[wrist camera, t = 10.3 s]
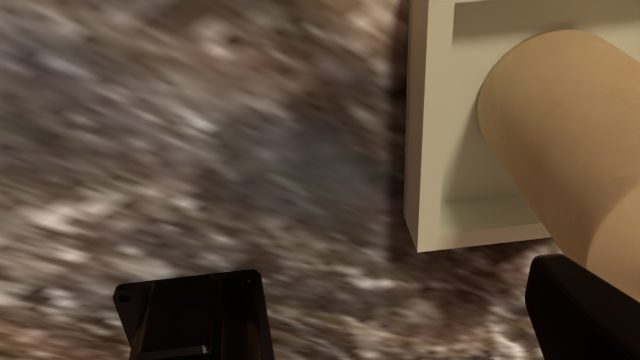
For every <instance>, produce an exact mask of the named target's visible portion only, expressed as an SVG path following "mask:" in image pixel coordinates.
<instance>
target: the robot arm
mask: <svg viewBox="0 0 640 360" xmlns="http://www.w3.org/2000/svg"><path fill="white" fill-rule="evenodd" d="M247 280H253V282H247ZM123 294H125V295H128V296H124V295H123ZM113 301H114V304H115V306H116V309H117V312H118V314H119V317H120V320H121V322H122V325H123V328H124V331H125V333H126V336H127V339H128V341H129V344H130V347H131V352H130V356H129V360H274V351H273V345H272V339H271V333H270V327H269V320H268V314H267V308H266V302H265V296H264V289H263V283H262V277H261V274H260V273H259V272H258V271H256V270H241V271H232V272H223V273H214V274H206V275H197V276H188V277H179V278H171V279H162V280H153V281H144V282H136V283H127V284H121V285H119V286H117V287H116V289H115V291H114V295H113ZM525 304H526V308H527V311H528V314H529V317H530V320H531V323H532V326H533V328H534V331H535V334H536V337H537V340H538V343H539V345H540V348H541V351H542V354H543V357H544V360H640V302H639V301H637V300H635V299H634V298H632V297H631V296H629V295H627V294H626V293H624V292H623V291H621V290H619V289H618V288H616V287H615V286H613V285H611V284H610V283H608V282H607V281H605V280H603V279H602V278H600V277H599V276H597V275H595V274H594V273H592V272H591V271H589V270H587V269H586V268H584V267H583V266H581V265H579V264H578V263H576V262H575V261H573V260H571V259H570V258H568V257H567V256H565V255H563V254H557V253H556V254H547V255H539V256H536V257H535V258H534V259H533V260H532V263H531V267H530V271H529V276H528V281H527V286H526V291H525Z"/></svg>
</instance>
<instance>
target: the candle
mask: <svg viewBox="0 0 640 360" xmlns="http://www.w3.org/2000/svg"><path fill="white" fill-rule="evenodd" d="M477 118H478V123H479V127H480V130H481V133H482V135H483V138H484V139H485V141H486V143H487V144H488V146H489V148H490V149H491V151H492V152H493V154H494V155H495V157H496V158H497V159H498V161H499V162H500V164H501V165H502V167H503V168H504V170H505V171H506V172H507V174H508V175H509V177H510V178H511V180H512V181H513V182H514V184H515V185H516V187H517V188H518V190H519V191H520V192H521V194H522V195H523V197H524V198H525V200H526V201H527V202H528V204H529V205H530V207H531V208H532V210H533V211H534V212H535V214H536V215H537V217H538V218H539V220H540V221H541V222H542V224H543V225H544V227H545V228H546V230H547V231H548V232H549V234H550V235H551V237H552V238H553V240H554V241H555V242H556V244H557V245H558V247H559V248H560V250H561V251H562V253H563V254H564V255H565V256H567V257H568V258H570V259H571V260H573V261H575V262H576V263H578V264H579V265H581V266H583V267H584V268H586V269H587V270H589V271H591V272H592V273H594V274H595V275H597V276H599V277H600V278H602V279H603V280H605V281H607V282H608V283H610V284H611V285H613V286H615V287H616V288H618V289H619V290H621V291H623V292H624V293H626V294H627V295H629V296H631V297H632V298H634V299H635V300H637V301H639V302H640V62H638V61H637V60H635V59H634V58H632V57H631V56H629V55H628V54H626V53H625V52H623V51H622V50H620V49H619V48H617V47H616V46H614V45H612V44H611V43H609V42H607V41H606V40H604V39H602V38H601V37H599V36H597V35H595V34H592V33H589V32H586V31H583V30H578V29H568V28H562V29H553V30H549V31H544V32H541V33H539V34H536V35H533V36H531V37H529V38H527V39H525V40H523V41H522V42H520V43H519V44H517V45H515V46H514V47H513V48H512V49H510V50H509V51H508V52H507V53H506V54H505V55H504V56H503V57H501V58H500V59H499V61H498V62H497V63H496V64H495V65H494V67H493V68H492V70H491V71H490V73H489V74H488V76H487V77H486V79H485V81H484V83H483V86H482V88H481V91H480V94H479V99H478V105H477Z"/></svg>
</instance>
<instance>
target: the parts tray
mask: <svg viewBox="0 0 640 360" xmlns="http://www.w3.org/2000/svg"><path fill="white" fill-rule="evenodd" d="M562 28H568V29H578V30H583V31H586V32H589V33H592V34H595V35H597V36H599V37H601V38H602V39H604V40H606V41H607V42H609V43H611V44H612V45H614V46H616V47H617V48H619V49H620V50H622V51H623V52H625V53H626V54H628V55H629V56H631V57H632V58H634V59H635V60H637V61H638V62H640V0H409V16H408V54H407V92H406V130H405V168H404V206H403V215H404V218H405V221H406V223H407V226H408V229H409V232H410V234H411V237H412V240H413V242H414V245H415V248H416V250H417V253H418V252H426V251H435V250H444V249H453V248H461V247H470V246H479V245H488V244H496V243H505V242H514V241H522V240H531V239H540V238H549V237H551V235H550V234H549V232H548V231H547V230H546V228H545V227H544V225H543V224H542V222H541V221H540V220H539V218H538V217H537V215H536V214H535V212H534V211H533V210H532V208H531V207H530V205H529V204H528V202H527V201H526V200H525V198H524V197H523V195H522V194H521V192H520V191H519V190H518V188H517V187H516V185H515V184H514V182H513V181H512V180H511V178H510V177H509V175H508V174H507V172H506V171H505V170H504V168H503V167H502V165H501V164H500V162H499V161H498V159H497V158H496V157H495V155H494V154H493V152H492V151H491V149H490V148H489V146H488V144H487V143H486V141H485V139H484V138H483V135H482V133H481V130H480V127H479V123H478V118H477V105H478V99H479V94H480V91H481V88H482V86H483V83H484V81H485V79H486V77H487V76H488V74H489V73H490V71H491V70H492V68H493V67H494V65H495V64H496V63H497V62H498V61H499V59H500V58H501V57H503V56H504V55H505V54H506V53H507V52H508V51H509V50H510V49H512V48H513V47H514V46H515V45H517V44H519V43H520V42H522V41H523V40H525V39H527V38H529V37H531V36H533V35H536V34H539V33H541V32H544V31H549V30H553V29H562Z"/></svg>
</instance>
